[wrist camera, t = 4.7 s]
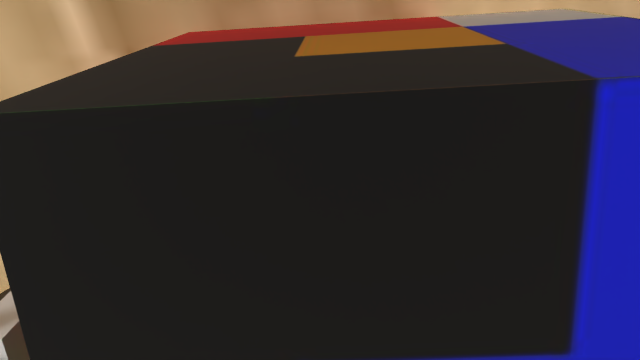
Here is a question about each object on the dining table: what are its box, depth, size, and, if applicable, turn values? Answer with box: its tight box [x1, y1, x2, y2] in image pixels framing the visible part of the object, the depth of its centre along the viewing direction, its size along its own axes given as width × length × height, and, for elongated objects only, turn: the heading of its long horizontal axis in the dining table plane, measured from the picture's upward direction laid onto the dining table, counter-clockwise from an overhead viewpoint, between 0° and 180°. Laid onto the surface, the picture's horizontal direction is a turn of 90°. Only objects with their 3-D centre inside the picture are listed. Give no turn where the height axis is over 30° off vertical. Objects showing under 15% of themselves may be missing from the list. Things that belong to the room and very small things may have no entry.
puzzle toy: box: [0, 9, 640, 360], centre depth 12 cm, size 10×10×10 cm
